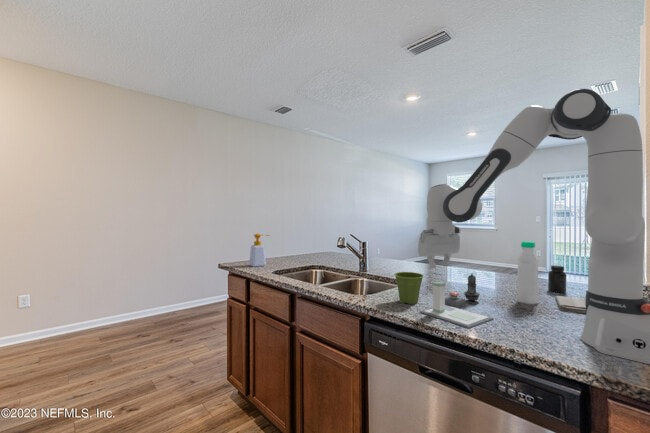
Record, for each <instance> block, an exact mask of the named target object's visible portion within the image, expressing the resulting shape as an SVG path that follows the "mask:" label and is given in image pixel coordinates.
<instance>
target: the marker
mask: <svg viewBox="0 0 650 433" xmlns="http://www.w3.org/2000/svg"><path fill="white" fill-rule="evenodd" d="M431 285H432V308H433V311H434V312H438V313H442V312H445V297H446V282H443V281H439V280H438V281H433V282H432V284H431Z"/></svg>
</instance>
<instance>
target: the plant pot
mask: <svg viewBox="0 0 650 433" xmlns="http://www.w3.org/2000/svg"><path fill="white" fill-rule="evenodd" d="M393 275H394V276H395V280H396V281H395V282H396V284H397V292H398V297H399V302H401V303H403V304H408V305H414V304H417V303H418V302H419V298H420V291H421V285H422V282H423V278H424V277H425V275H424V274H422V273H419V272H414V271H399V272H398V271H397V272H395V273H394V274H393Z"/></svg>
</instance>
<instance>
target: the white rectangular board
mask: <svg viewBox="0 0 650 433" xmlns="http://www.w3.org/2000/svg"><path fill="white" fill-rule="evenodd" d="M419 313H421V314H422V315H426V316H430V317H432V318H434V319H435V318H436V319H439V320H442V321H444V322H449V323H451V324H455V325H457V326H461V327H463V328H467V329H471V328H474V327H477V326H479V325H482V324H485V323H488V322H489V321H492V320H494V317H491V316H488V315H485V314H480V313H477V312H473V311H470V310H466V309H463V308H460V307H458V308H456V307H452V306H449V305H445V312H442V313H438V312H434V311H433V307H429V308H427V309H422V310H419Z"/></svg>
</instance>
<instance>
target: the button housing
mask: <svg viewBox="0 0 650 433" xmlns="http://www.w3.org/2000/svg"><path fill="white" fill-rule="evenodd" d="M465 300H466V299H465V298H462V297H458V296H457V300H452V299H450V295H449V296H445V305H449V306H452V307H456V308H462V307H464V306H466V302H465Z"/></svg>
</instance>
